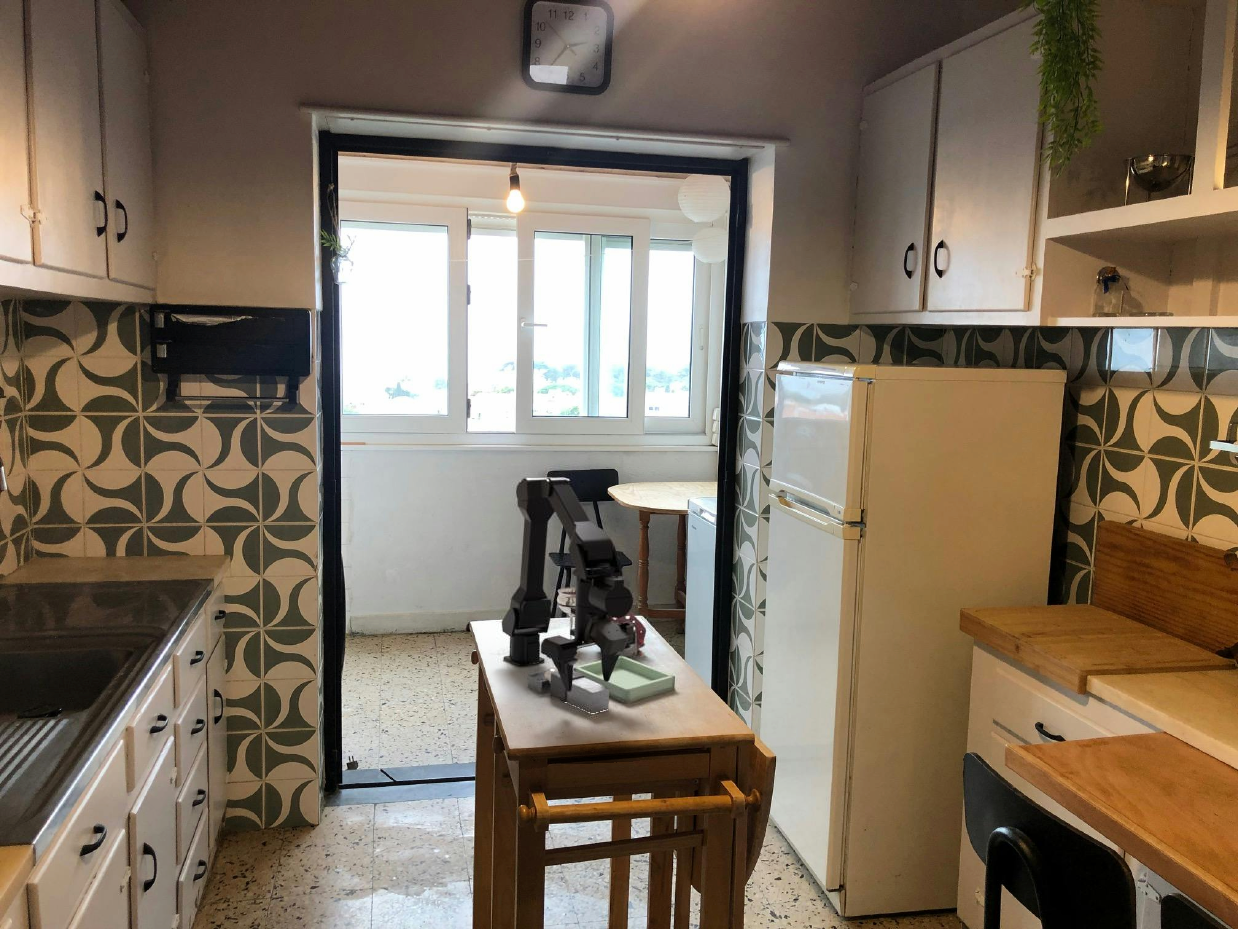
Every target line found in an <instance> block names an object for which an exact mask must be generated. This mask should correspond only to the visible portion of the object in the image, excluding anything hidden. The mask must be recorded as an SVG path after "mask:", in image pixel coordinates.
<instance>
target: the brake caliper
mask: <svg viewBox="0 0 1238 929" xmlns="http://www.w3.org/2000/svg"><path fill="white" fill-rule="evenodd" d="M627 617H629V618H627ZM628 621H630V622H631V623H632V624H633V625H634V628H635V629H634V632H635V634H636V639H635V644H631V645H630V648H629V649H626V650H625V651H624V652H622V653H621V654H620V656H624V657H626V658H629V659H632V660H634V659H635V658H636V656H637V657H639V658H643V657H645V655H644V651H643V650H641V649H642V648H643V647H645V645H646V644H645V638H646V634H647V629H646V627H645V626H644V624H643V623H642V622H641V621H640V620H639V619H638V618H637V617H636V616H635V615H634V613H632V612H631V610H630V611H629V612H628V613H627V614H626V615H625V616H624V617H621V618H613V617H612V622H614V623H620V624H621V623H623V622H628Z"/></svg>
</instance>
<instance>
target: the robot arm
mask: <svg viewBox="0 0 1238 929" xmlns="http://www.w3.org/2000/svg"><path fill="white" fill-rule="evenodd" d="M515 490H516V491H515V494H516V498H517V507H518V509H519V511H520V513H521V514H522V516H523V520H524V522H523V536H522V550H521V566H520V578H519V579H520V580H519V582H520V583H519V587H518V588H517V589H516V591H515V592H514V593H513V595H512V597H511V599H510V604H509V608H508V611H507V612H506V614H505V615H504V617H503V618H502V620H501V630H502V632H503V633H504V634H505V635H507V636H508V637H509V655H505V656H503V660H505V661H507V662H509V663H511V664H514V665H516V666H517V667H526V666H530V665H536V664H539V663H544V662H545V661H546V659H545V658H543V657H541V655H544V656H546V658H549V659H551V660H552V663H553V665H554V666H555V668H556V670H557V671H558V672H559V675H560V677H561V680H562V682H563V684H564V687H565V689H566V691H568V692H570V691H571V689H572V679H573V667H574V665H575V664H576V663H577V661H578V660H579V659H578V658H576V656H577V654H578V649H584V648H587V647H592V646H597V647H598V648H599V650H600V661H601V663H602V673H603V679H604V681H606V682H608V681H609V680H610V677H611V675H612V672H613V669H614V667H615V664H616V662H617V660H618V658H619V656H620V654H621V653H622V652H624V651H625V650H626V649H629V648H630V645H631V644H635V639H636V634H635V632H634V630H635V629H634V628H635V627H634V625H633V624H632V623H631V622H630V621H628V622H623V623H621V624H620V623H614V622H612V617H613V618H621V617H624V616H625V615H626V614H627V613H628V612H629V611H630V612H631V610H632V608H633V604H634V597H633V593H632V592H631V590H630V589H629V588H628V587H626V586H625V580H624V579H623V578H621V577H623V576H624V573H623V569H622V568H623V565H622V563H621V560H620V557H619V555H618V553H617V550H616V547H615V546H616V545H615V544H614V543H613V541H612V539H611V538H610V536H609V535H608V534H607V533H606V531H605V530H604V529H603V528H600V527H598V526H596V525H594V523H593V522H592V521H591V520H590V518H589V515H588V514H587V512H586V510H585V509H584V508H583V506H582V504H581V502H580V501H579V498H578V497H577V495H576V494H575V492H574V490H573V486H572V482H571V480H570V479H569V478H566V477H564V476H563V477H559V476H558V477H551V476H550V477H548V476H547V477H545V476H544V477H523V478H522V479H521V481H519V482H518V484H517V485H516V489H515ZM555 513H556V516H557V518H558V519H559V521H560V523H561V524H562V527H563V529H564V531H565V532H566V535H567V537H568V538H569V539H568V540H569V545H568V553H569V555H570V560H571V562H572V563H573V566H574V567H575V569H573V570H572V572H571V573H572V575H573V576H575V577H576V580H575V581H576V583H575V588H576V603H575V607H573V608H571V613H572V614H574V615H575V616H574V628H572V629H570V628H569V636H570V635H572V637H573V638H572V639H570V638H567V637H565V636H562V635H560V634H559V635H555V636H549V637H545V638H544V639H543V640H542V641H541V642H540V640H541V639H540V637H541V634H547V633H548V631H549V628H550V621H551V619H552V600H551V599H550V598H549V596H548V595H547V593H546V592H545V589H544V583H545V582H544V581H545V569H546V567H545V566H546V556H547V554H546V553H547V543H548V542H547V539H548V527H549V521H551V518H552V517H553V516H554V514H555Z"/></svg>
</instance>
